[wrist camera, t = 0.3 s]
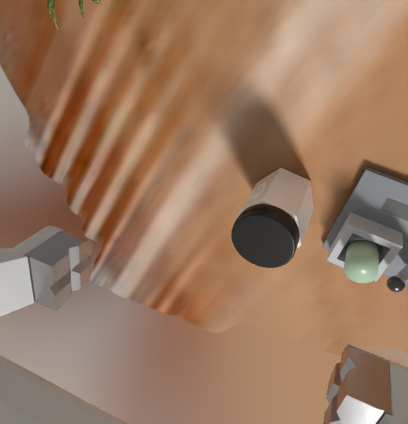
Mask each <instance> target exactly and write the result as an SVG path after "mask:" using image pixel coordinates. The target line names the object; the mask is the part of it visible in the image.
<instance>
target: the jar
mask: <svg viewBox="0 0 408 424" xmlns="http://www.w3.org/2000/svg"><path fill="white" fill-rule="evenodd" d="M313 209H314V205H313V197H312V188H311V181H310V180H308V179H306V178H303V177H301V176H299V175H297V174H294V173H292V172H290V171H288V170H286V169H283V168H279V169H277V170H276V171H274V172H273V173H271V174H270V175H268V176H266V177H265V178H263V179H262V180H260V181H259V182H257V184H256V185H255V187H254V188H253V190H252V192H251V193H250V195H249V196H248V198H247V199H246V201H245V202H244V204H243V206H242V207H241V209H240V210H239V212H238V213H237V220H236V221H235V223H234V226H233V228H232V233H231V236H232V242H233V244H234V247H235V248H236V250H237V251H238V253H239V254H240V255H241V256H242V257H243V258H245V259H246V260H247V261H249V262H251V263H253V264H255V265H257V266H261V267H266V268H275V267H280V266H283V265H285V264H286V263H288V262H289V261H290V260H291V259H292V257H293V256H294V254H295V251H296V248H298V247H300V246H301V244H302V241H303V238H304V235H305V232H306V229H307V227H308V224H309V221H310V218H311V215H312V212H313Z"/></svg>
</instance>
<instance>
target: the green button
mask: <svg viewBox="0 0 408 424" xmlns="http://www.w3.org/2000/svg"><path fill="white" fill-rule="evenodd" d="M378 264H379V249H378V247H377V246H376V245H375V244H374V243H372V242H370V241H367V240H356V241H353V242H351V243H350V244H349V245H348V247H347V252H346V257H345V263H344V273H345V275H346V276H347V277H348V278H349V279H351V280H352V281H355V282H358V283H368V282H371V281H373V280H374V279H375V278H376V277H377V275H378Z"/></svg>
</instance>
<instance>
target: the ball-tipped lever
mask: <svg viewBox="0 0 408 424" xmlns="http://www.w3.org/2000/svg"><path fill="white" fill-rule="evenodd" d="M407 281H408V264H407V265H406V266H405V267H404V268H403V269H402V270H401V271H400V272H399V273H398V274H397V275H396V276H392V277H390V278H389V279H388V280H387V287H388V288H389V289H390V290H391V291H393V292H394V293H396V292H400V291H402V290H403V289H404V287H405V283H406V282H407Z"/></svg>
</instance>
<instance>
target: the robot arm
mask: <svg viewBox="0 0 408 424" xmlns="http://www.w3.org/2000/svg"><path fill="white" fill-rule="evenodd" d="M92 252H93V251H92V243H91V242H90V241H88V240H85V239H83V238H81V237H79V236H76V235H74V234H72V233H69V232H67V231H64V230H62V229H59V228H57V227H55V226H47V227H46V228H44V229H42V230H41V231H39V232H37V233H36V234H34V235H33V236H31V237H29V238H28V239H26V240H25V241H23V242H22V243H20V244H18V245H17V246H15V247H14V248H12V249H8V248H4V249H0V316H2V315H4V314H7V313H9V312H12V311H15V310H17V309H20V308H22V307H25V306H27V305H30V304H32V303H34V301H35V302H37V303H40V304H42V305H44V306H46V307H49V308H51V309H53V310H56V311H57V310H58V309H59V308H60V307H61V306H62V305H64V303H66V302H67V301H68V300H69V299H70V298H71V295H72V291H74V290H78V289H81V288H82V287H83V286H84V285H85V284H86V283H87V281H88V280H89V278H90V276H91V274H92V270H93V262H92V260H91V258H90V256H89V255H90V254H91V253H92ZM326 398H327V400H328V402H329V406H328V408H327V409H326V411H325V413H324V422H323V424H408V367H405V366H403V365H400V364H398V363H395V362H392V361H390V360H386V359H384V358H382V357H379V356H376V355H374V354H372V353H369V352H366V351H364V350H361V349H359V348H356V347H354V346H351V345H347V346H346V347H345V348H344V350H343V352H342V358H341V362H340V363H337V364H336V366H335V367H334V370H333V372H332V374H331V377H330V380H329V384H328V389H327V396H326ZM0 424H127V423H125V422H124V421H122V420H120V419H118V418H116V417H114V416H112V415H111V414H109V413H107V412H105V411H103V410H101V409H99V408H98V407H96V406H94V405H92V404H90V403H88V402H86V401H84V400H83V399H81V398H79V397H77V396H75V395H73V394H72V393H70V392H68V391H66V390H64V389H62V388H60V387H59V386H57V385H55V384H53V383H51V382H49V381H47V380H46V379H44V378H42V377H40V376H38V375H36V374H35V373H33V372H31V371H29V370H27V369H25V368H23V367H22V366H20V365H18V364H16V363H14V362H12V361H10V360H8V359H6V358H5V357H3V356H1V355H0Z"/></svg>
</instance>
